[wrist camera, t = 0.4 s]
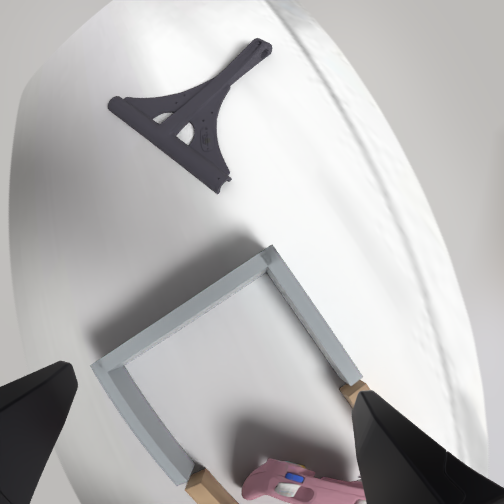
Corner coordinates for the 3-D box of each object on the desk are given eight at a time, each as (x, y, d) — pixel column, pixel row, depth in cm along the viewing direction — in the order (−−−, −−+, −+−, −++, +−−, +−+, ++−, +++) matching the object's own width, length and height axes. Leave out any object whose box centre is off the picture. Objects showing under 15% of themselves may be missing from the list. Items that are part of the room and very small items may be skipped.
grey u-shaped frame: (350, 369, 21) (363, 376, 18) (185, 468, 20) (176, 486, 17) (270, 252, 23) (272, 244, 20) (108, 360, 22) (89, 365, 19)
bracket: (325, 89, 27) (331, 70, 24) (218, 197, 25) (214, 184, 22) (215, 30, 28) (213, 12, 26) (112, 114, 26) (101, 98, 24)
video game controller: (358, 477, 21) (405, 479, 15) (341, 521, 18) (384, 536, 13) (255, 446, 22) (278, 446, 16) (233, 493, 19) (248, 510, 13)
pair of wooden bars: (409, 458, 20) (422, 469, 17) (261, 544, 18) (261, 561, 16) (355, 376, 21) (366, 383, 19) (190, 475, 20) (184, 489, 17)
